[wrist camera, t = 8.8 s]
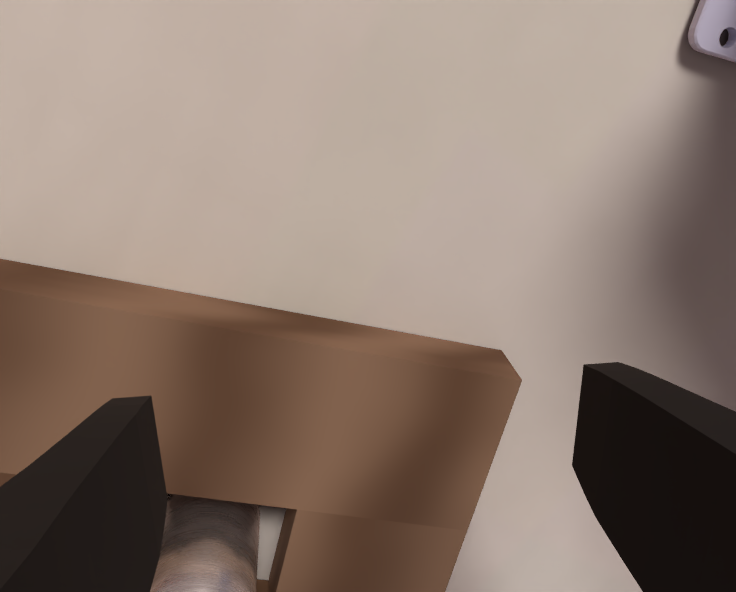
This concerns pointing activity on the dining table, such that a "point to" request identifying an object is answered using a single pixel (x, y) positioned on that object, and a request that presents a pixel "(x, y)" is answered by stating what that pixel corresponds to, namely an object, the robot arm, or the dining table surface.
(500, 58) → the dining table surface
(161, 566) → the steel roller
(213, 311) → the walnut plate
